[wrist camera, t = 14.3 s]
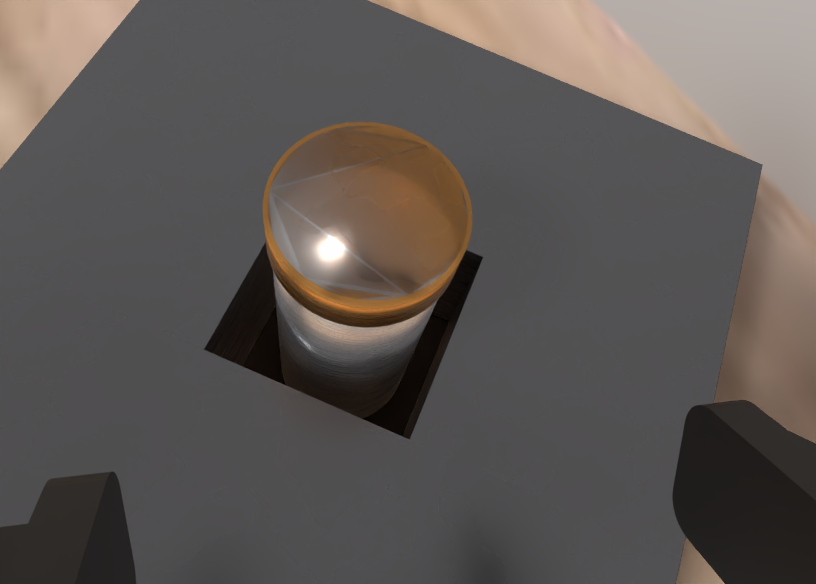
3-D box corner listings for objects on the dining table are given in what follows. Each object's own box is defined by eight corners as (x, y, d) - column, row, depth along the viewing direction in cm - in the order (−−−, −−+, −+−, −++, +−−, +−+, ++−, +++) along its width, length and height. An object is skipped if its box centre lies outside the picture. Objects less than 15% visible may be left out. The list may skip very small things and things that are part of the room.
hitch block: (-142, 530, 19) (-279, 509, 15) (214, 40, 28) (197, -71, 23) (531, 837, 18) (607, 914, 14) (684, 237, 27) (762, 164, 22)
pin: (255, 392, 22) (223, 251, 13) (312, 284, 24) (318, 93, 15) (376, 445, 22) (428, 339, 13) (424, 332, 24) (499, 170, 15)
